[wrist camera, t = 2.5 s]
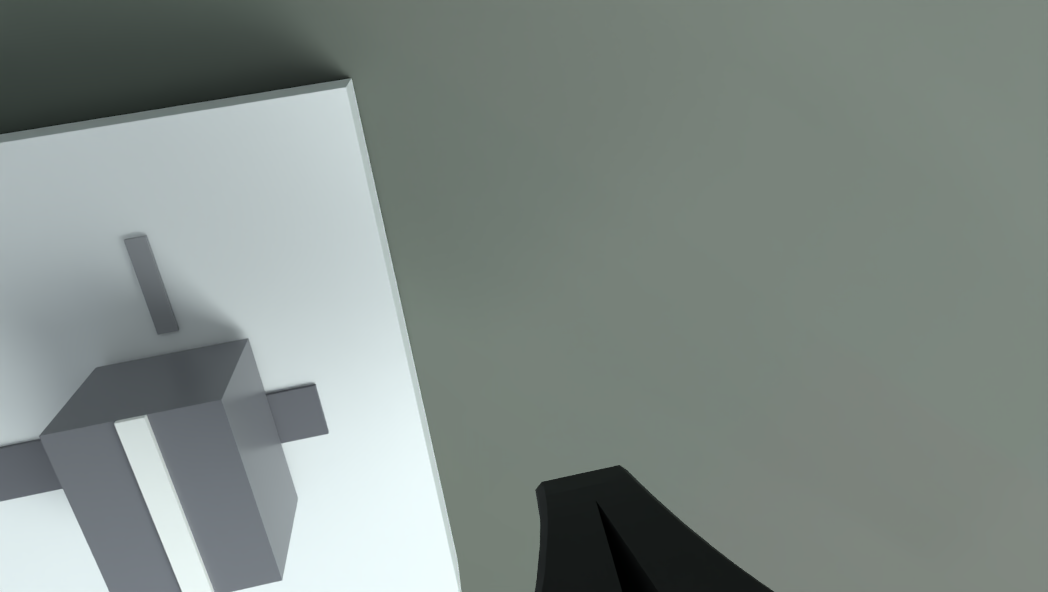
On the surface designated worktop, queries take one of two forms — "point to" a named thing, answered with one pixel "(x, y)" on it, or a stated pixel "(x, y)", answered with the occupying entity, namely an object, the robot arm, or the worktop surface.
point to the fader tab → (177, 472)
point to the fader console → (220, 322)
